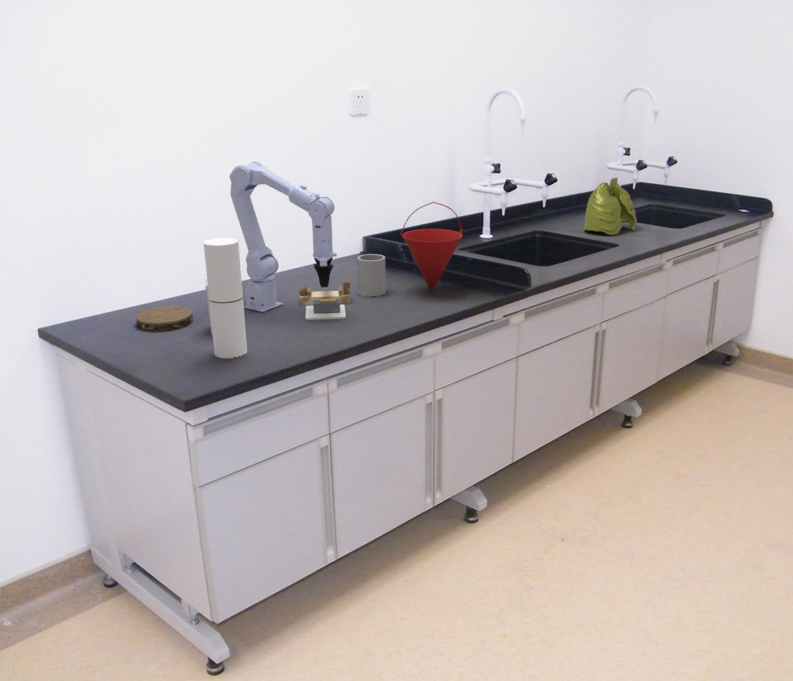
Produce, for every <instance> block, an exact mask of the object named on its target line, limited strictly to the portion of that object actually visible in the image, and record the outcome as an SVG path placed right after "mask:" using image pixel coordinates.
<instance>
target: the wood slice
mask: <svg viewBox="0 0 793 681" xmlns="http://www.w3.org/2000/svg"><path fill="white" fill-rule="evenodd" d="M193 317H194V316H193V311H192V309H190V308H189V307H186V306H178V305H166V306H165V305H164V306H157V307H153V308H152V307H151V308H148V309H145V310H142V311H140V312H138V314H137V315H136V326H137V328H138V327H139V330H141V329H142V330H141V331H144V330H145V332H152V333H155V332H156V333H163V332H171V331H176V330H181V329H184V328H187V327H188V326H191V324H192V323H193V322H194V320H193Z"/></svg>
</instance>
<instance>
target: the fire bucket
mask: <svg viewBox="0 0 793 681" xmlns="http://www.w3.org/2000/svg"><path fill="white" fill-rule="evenodd" d="M432 204H436V205H439V206H443V207H446V208H447V209H449V210H451V211H452V212H453V214H455V216H456V218H457V220H458V224H459V231H455V230H451V229H445V228H443V229H442V228H421V229H420V228H419V229H413V230H410V231H405V232H404V230H405V226H406V225H407V222H408V221H409V219H410V217H411V216H412V215H413V214H414V213H416V212H417V211H418V210H420V209H422V208H423V207H426V206H428V205H432ZM461 225H462V224H461V222H460V218H459V216H458V215H457V213H456V212H455V211H454V210H453V209H452V208H450V207H449V206H447V205H445V204H442V203H439V202H438V203H437V202H435V201H431V202H429V203H426V204H424V205H422V206H419V207H418V208H416V209H415V210H414V211H413V212H411V214H410V215H409V216H407V219H406V221H405V223H404V225H403V227H402V231H401V232H400V234H399V235H400V237H401V238H402V240H403V241H404V243H406V246H407V247H408V249H409V251H410V254H411V255H412V257H413V259H414V261H415V264H416V265H417V267H418V269H419V271H420V273H421V276H423V279H424V281H425V283H426V285H427V286H428V288H429V290H430V292H433V291H434V290H435V288H436V286H438V284H439V281H440V279H441V277H442V276H443V273H444V271H445V270H446V268H447V266H448V264H449V262H450V260H451V258H452V257H453V254H454V252H455V251H456V249H457V247H458V245H459V243H460V242H461V240H462V238H463V227H462V226H461ZM403 232H404V233H403Z"/></svg>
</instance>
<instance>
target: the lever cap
mask: <svg viewBox="0 0 793 681" xmlns="http://www.w3.org/2000/svg"><path fill="white" fill-rule="evenodd" d="M340 305H341V304H340V299H320V300H313V305H312V306H313V308H314V314H317V313H340Z"/></svg>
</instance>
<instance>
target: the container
mask: <svg viewBox="0 0 793 681" xmlns="http://www.w3.org/2000/svg"><path fill="white" fill-rule="evenodd" d="M203 251H204V261H205V270H206V271H205V272H206V279H207V283H208V293H209V304H210V314H211V324H212V334H213V335H212V340H213V341H212V344H213V352H214V356H215V357H217V358H221V359H235V358H234V357H236V358H239V356H240V357H242V355H243V356H245V355H246V354H247V353H248V346H247V345H248V344H247V333H246V320H245V308H244V307H245V306H244V296H243V295H244V294H243V283H242V270H241V259H240V258H241V256H240V246H239V240H238V239H236V238H232V237H217V238H210V239H207V240H204V241H203ZM244 354H245V355H244Z"/></svg>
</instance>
